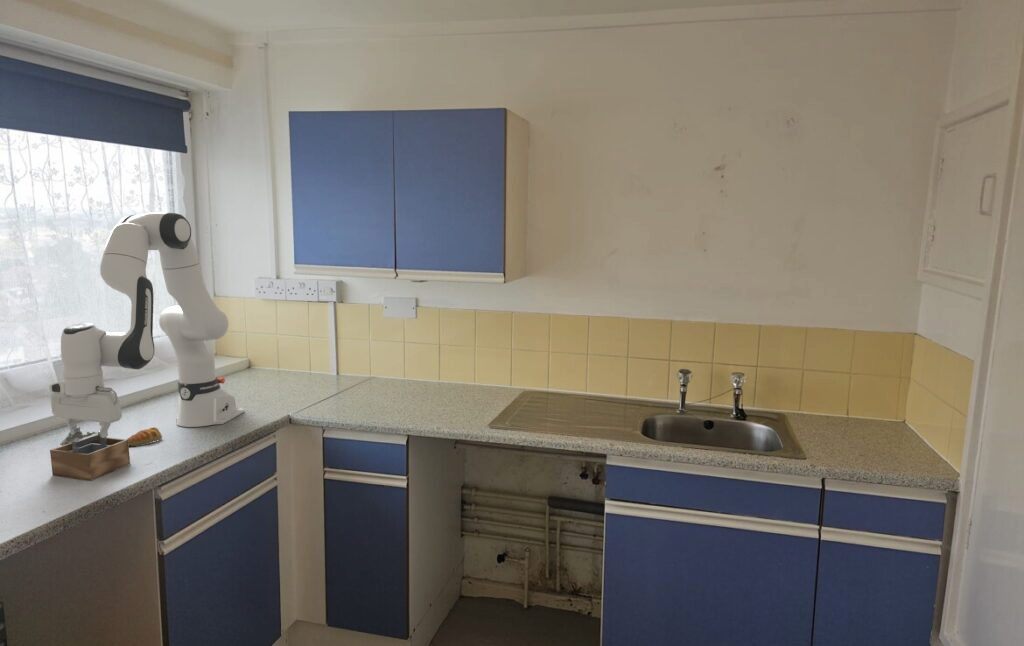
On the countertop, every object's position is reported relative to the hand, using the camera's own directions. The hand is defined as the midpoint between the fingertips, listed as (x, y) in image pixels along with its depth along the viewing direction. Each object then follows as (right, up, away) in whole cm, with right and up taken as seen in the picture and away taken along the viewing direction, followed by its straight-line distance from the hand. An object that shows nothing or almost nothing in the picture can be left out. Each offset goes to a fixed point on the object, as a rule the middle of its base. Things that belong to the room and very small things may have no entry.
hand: (89, 435), depth 179 cm
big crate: (0, -10, +1) cm, 10 cm away
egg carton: (-16, -7, +21) cm, 27 cm away
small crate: (0, -9, +1) cm, 9 cm away
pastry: (+2, -6, +25) cm, 26 cm away
